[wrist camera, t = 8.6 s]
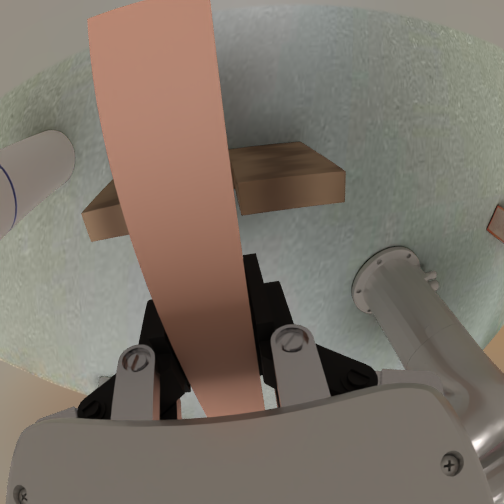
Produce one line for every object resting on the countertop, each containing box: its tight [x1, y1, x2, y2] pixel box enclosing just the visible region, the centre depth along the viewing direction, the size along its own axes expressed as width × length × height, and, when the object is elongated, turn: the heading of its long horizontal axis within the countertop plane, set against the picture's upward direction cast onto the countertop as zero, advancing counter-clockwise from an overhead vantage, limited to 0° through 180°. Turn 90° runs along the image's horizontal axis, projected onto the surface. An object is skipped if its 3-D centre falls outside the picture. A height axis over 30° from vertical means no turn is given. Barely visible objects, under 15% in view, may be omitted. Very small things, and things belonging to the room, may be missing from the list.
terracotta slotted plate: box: [87, 0, 265, 417], centre depth 14 cm, size 20×2×12 cm, turn 6°
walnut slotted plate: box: [81, 142, 346, 242], centre depth 25 cm, size 20×2×12 cm, turn 96°
